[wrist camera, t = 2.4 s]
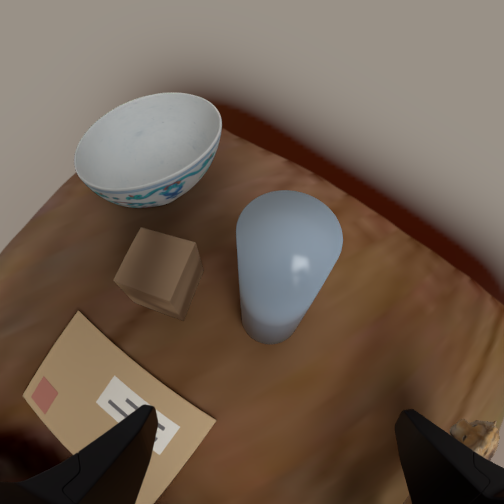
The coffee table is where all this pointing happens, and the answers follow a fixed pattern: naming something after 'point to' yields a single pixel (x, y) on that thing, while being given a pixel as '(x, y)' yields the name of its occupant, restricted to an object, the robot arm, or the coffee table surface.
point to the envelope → (112, 402)
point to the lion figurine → (475, 438)
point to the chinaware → (149, 149)
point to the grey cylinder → (283, 260)
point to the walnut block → (161, 272)
